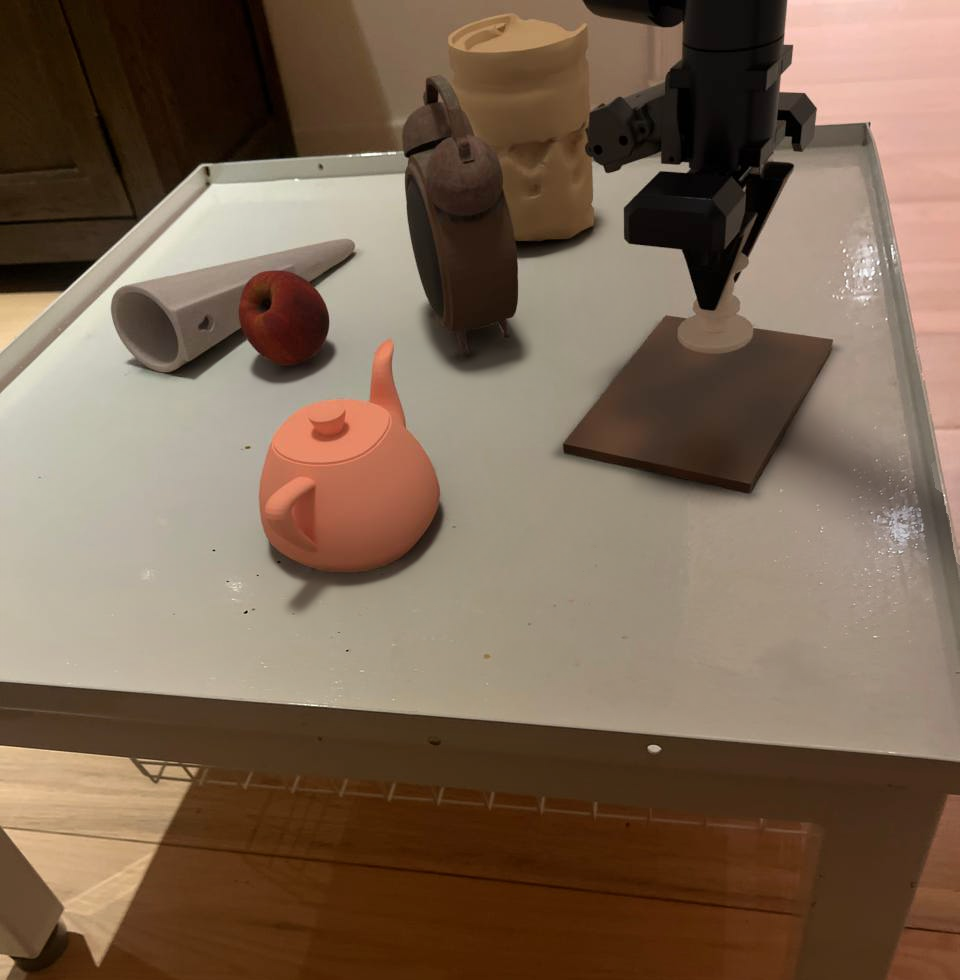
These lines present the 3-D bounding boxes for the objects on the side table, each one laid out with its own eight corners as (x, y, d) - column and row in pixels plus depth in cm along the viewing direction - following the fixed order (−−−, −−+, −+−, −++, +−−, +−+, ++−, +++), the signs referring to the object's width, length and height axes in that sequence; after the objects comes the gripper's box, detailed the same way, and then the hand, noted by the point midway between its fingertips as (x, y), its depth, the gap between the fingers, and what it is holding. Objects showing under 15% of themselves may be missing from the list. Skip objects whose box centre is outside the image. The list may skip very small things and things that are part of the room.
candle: (670, 351, 67) (674, 200, 60) (684, 316, 71) (690, 168, 63) (747, 356, 66) (760, 201, 58) (757, 319, 69) (771, 168, 62)
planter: (288, 199, 101) (99, 280, 84) (354, 205, 97) (170, 291, 80) (302, 274, 105) (126, 365, 89) (365, 282, 102) (194, 379, 85)
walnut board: (831, 348, 76) (833, 339, 76) (749, 493, 65) (750, 483, 64) (665, 323, 82) (665, 314, 82) (563, 452, 71) (562, 443, 70)
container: (523, 198, 105) (507, 6, 92) (618, 218, 98) (615, 14, 85) (446, 244, 99) (418, 45, 86) (542, 268, 92) (527, 58, 79)
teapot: (224, 587, 65) (175, 472, 58) (344, 436, 76) (315, 325, 69) (384, 619, 61) (352, 498, 54) (486, 454, 72) (470, 338, 65)
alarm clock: (413, 305, 90) (370, 67, 76) (487, 287, 91) (458, 48, 77) (450, 379, 80) (409, 120, 66) (533, 358, 81) (510, 98, 67)
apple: (236, 367, 86) (207, 281, 80) (299, 329, 90) (276, 244, 84) (290, 389, 82) (264, 300, 76) (354, 348, 86) (334, 260, 80)
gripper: (662, -7, 64) (659, 228, 75) (534, 86, 53) (553, 344, 64) (832, -9, 59) (803, 242, 70) (730, 93, 48) (714, 370, 60)
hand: (718, 295), depth 66 cm, fingers closed on candle, 4 cm apart
